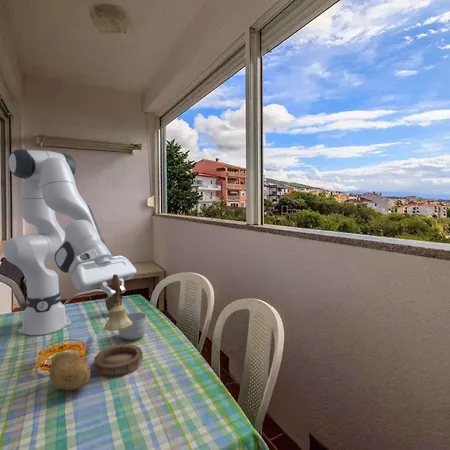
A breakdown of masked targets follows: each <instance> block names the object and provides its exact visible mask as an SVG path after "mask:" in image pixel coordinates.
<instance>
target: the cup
mask: <svg viewBox="0 0 450 450" xmlns="http://www.w3.org/2000/svg"><path fill="white" fill-rule="evenodd" d="M104 301H105V306H106V309H107V311H108V312H110V309H111V308H113V307H114V296H111V297H109V296H106V298H104ZM119 301H120V306H123V305H122V304H123V295H120V294H119Z"/></svg>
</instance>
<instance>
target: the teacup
mask: <svg viewBox="0 0 450 450" xmlns="http://www.w3.org/2000/svg"><path fill="white" fill-rule="evenodd" d="M126 315H127V317H128V318H129V319H130V320H131V321H132V325H131V326H129V327H127V328H124V329H120V330H118V332H119V336H120V337H121V338H123V339H124V340H126V341H136V340H138V339H140V338H142V337H143V336H144V335H145V334H146V333H147V330H148V318H147V317H148V314H147V313H146V312H143V311H140V310H136V311H135V312H134V311H133V312H128V313H127V312H126Z"/></svg>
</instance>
